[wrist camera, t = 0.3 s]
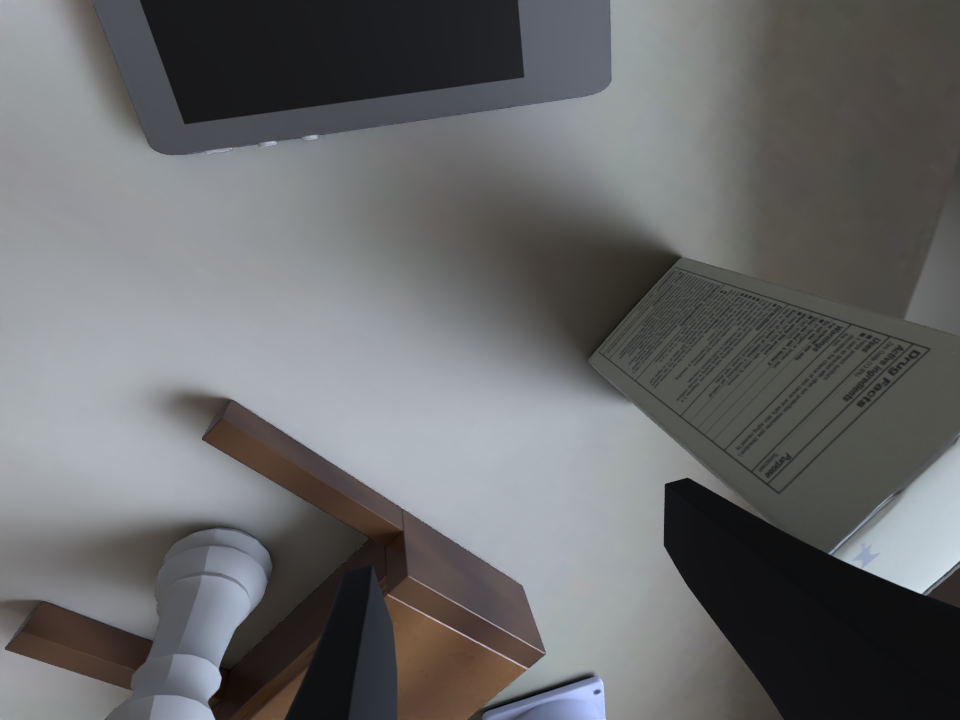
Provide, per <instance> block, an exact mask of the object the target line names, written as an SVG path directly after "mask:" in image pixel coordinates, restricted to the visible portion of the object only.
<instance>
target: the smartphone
mask: <svg viewBox="0 0 960 720" xmlns="http://www.w3.org/2000/svg"><path fill="white" fill-rule="evenodd" d="M92 3H93V5H94V8H95V10H96V13H97V15H98V18H99V20H100V23H101V25H102V28H103V30H104V33H105V35H106V38H107V40H108V43H109V45H110V48H111V50H112V53H113V55H114V58H115V61H116V63H117V66H118V68H119V71H120V73H121V76H122V78H123V81H124V83H125V86H126V88H127V91H128V93H129V96H130V98H131V101H132V103H133V106H134V108H135V111H136V113H137V116H138V119H139V121H140V124H141V126H142V129H143V131H144V134H145V136H146V139H147V141H148V144H149V146H150V147H151V148H152V149H153V150H155V151H157V152H159V153H162V154H167V155H187V154H194V153H201V152H204V153H205V154H212V153H219V152H226V151H233V149H232V148H235V147H242V146H249V145H256V144H258V145H259V147H268V146H274V145H277V143H276V141H283V140H290V139H297V138H301V140H302V141H308V140H315V139H319V137H318V135H324V134H331V133H338V132H345V131H351V130H358V129H365V128H372V127H379V126H386V125H393V124H399V123H406V122H413V121H420V120H427V119H434V118H440V117H447V116H454V115H461V114H468V113H475V112H481V111H488V110H495V109H502V108H509V107H516V106H523V105H529V104H536V103H543V102H550V101H557V100H564V99H570V98H577V97H584V96H588V95H592V94H596V93H599V92H601V91H603V90H604V89H606V88H607V87H608V86H609V84H610V82H611V26H610V0H92Z"/></svg>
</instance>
